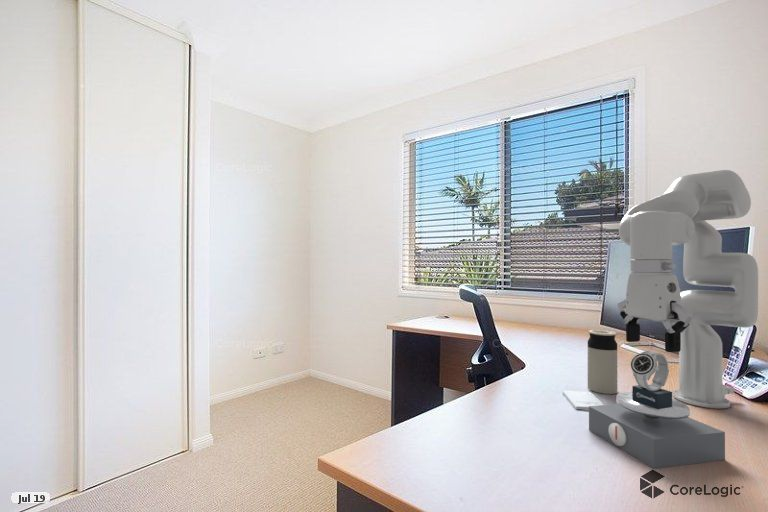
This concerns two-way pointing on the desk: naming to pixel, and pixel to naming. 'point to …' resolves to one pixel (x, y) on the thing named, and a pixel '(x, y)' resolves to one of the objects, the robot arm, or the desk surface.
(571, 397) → the external hard drive
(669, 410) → the scale pan
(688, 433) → the scale
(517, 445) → the desk surface
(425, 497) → the desk surface
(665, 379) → the watch
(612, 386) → the travel mug
